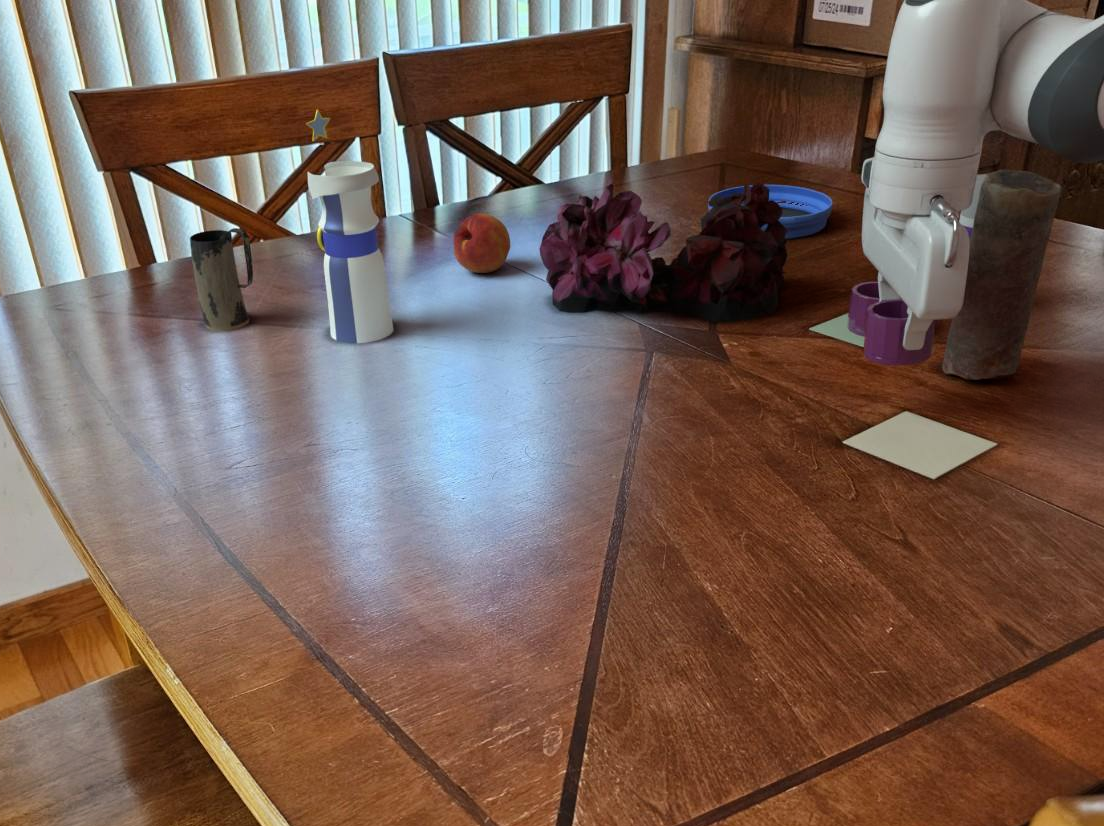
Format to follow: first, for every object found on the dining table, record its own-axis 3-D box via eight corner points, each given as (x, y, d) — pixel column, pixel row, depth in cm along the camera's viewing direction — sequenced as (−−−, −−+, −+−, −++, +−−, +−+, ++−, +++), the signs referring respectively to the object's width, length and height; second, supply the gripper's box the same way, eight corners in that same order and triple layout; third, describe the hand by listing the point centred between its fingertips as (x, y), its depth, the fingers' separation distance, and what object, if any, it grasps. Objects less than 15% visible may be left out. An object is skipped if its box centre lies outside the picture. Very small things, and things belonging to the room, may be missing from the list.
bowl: (682, 227, 165) (683, 203, 163) (755, 201, 175) (757, 178, 173) (782, 250, 154) (784, 224, 152) (853, 221, 164) (857, 197, 162)
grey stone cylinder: (993, 357, 120) (1036, 165, 109) (1031, 383, 114) (1080, 183, 103) (928, 364, 119) (964, 172, 108) (963, 391, 113) (1005, 190, 102)
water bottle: (312, 341, 132) (279, 120, 118) (350, 317, 139) (323, 105, 125) (370, 350, 129) (344, 123, 115) (406, 325, 136) (385, 108, 122)
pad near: (997, 446, 103) (997, 443, 102) (934, 481, 98) (934, 478, 98) (905, 413, 109) (906, 410, 109) (842, 444, 104) (842, 441, 104)
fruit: (446, 268, 154) (442, 210, 149) (499, 259, 156) (497, 202, 151) (465, 284, 147) (461, 224, 143) (520, 275, 150) (518, 215, 145)
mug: (195, 329, 138) (175, 233, 131) (219, 314, 142) (201, 220, 135) (250, 335, 135) (232, 237, 128) (272, 319, 139) (256, 223, 133)
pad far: (933, 331, 127) (934, 328, 127) (880, 354, 122) (881, 351, 122) (862, 309, 134) (862, 307, 133) (808, 330, 129) (809, 328, 128)
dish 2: (944, 352, 106) (949, 306, 104) (905, 370, 103) (910, 323, 101) (889, 339, 110) (893, 295, 108) (850, 356, 107) (853, 311, 105)
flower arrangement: (774, 273, 146) (786, 155, 138) (801, 326, 130) (817, 196, 121) (541, 279, 148) (538, 163, 139) (539, 333, 132) (536, 205, 123)
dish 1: (913, 328, 127) (920, 290, 125) (880, 342, 124) (886, 303, 121) (868, 315, 131) (874, 277, 129) (835, 328, 128) (841, 290, 126)
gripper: (1000, 213, 89) (968, 373, 97) (924, 154, 106) (902, 295, 114) (921, 217, 89) (896, 376, 97) (858, 158, 106) (841, 298, 114)
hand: (899, 332), depth 105 cm, fingers closed on dish 2, 6 cm apart
